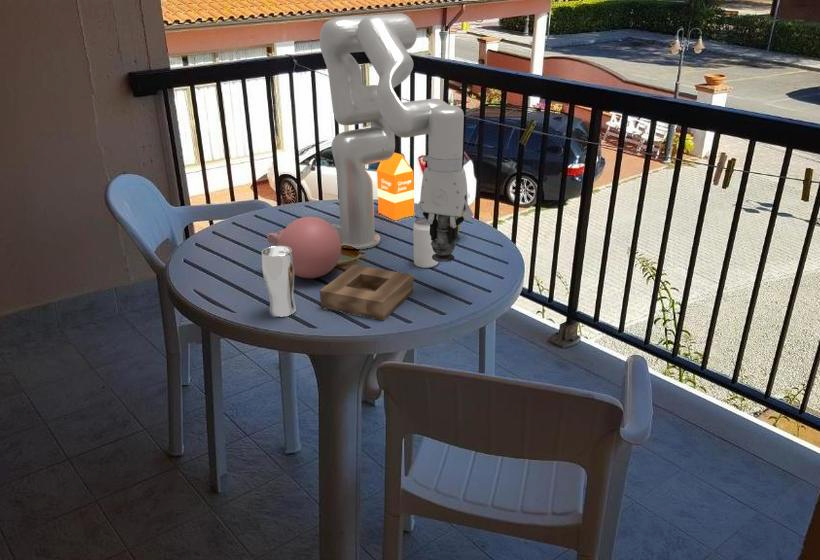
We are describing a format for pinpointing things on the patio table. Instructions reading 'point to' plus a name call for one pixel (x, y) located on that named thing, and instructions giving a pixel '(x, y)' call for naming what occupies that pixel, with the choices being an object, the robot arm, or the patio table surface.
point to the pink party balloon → (310, 245)
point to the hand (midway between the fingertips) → (443, 239)
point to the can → (423, 244)
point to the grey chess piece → (443, 241)
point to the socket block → (367, 292)
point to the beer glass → (279, 279)
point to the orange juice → (395, 187)
